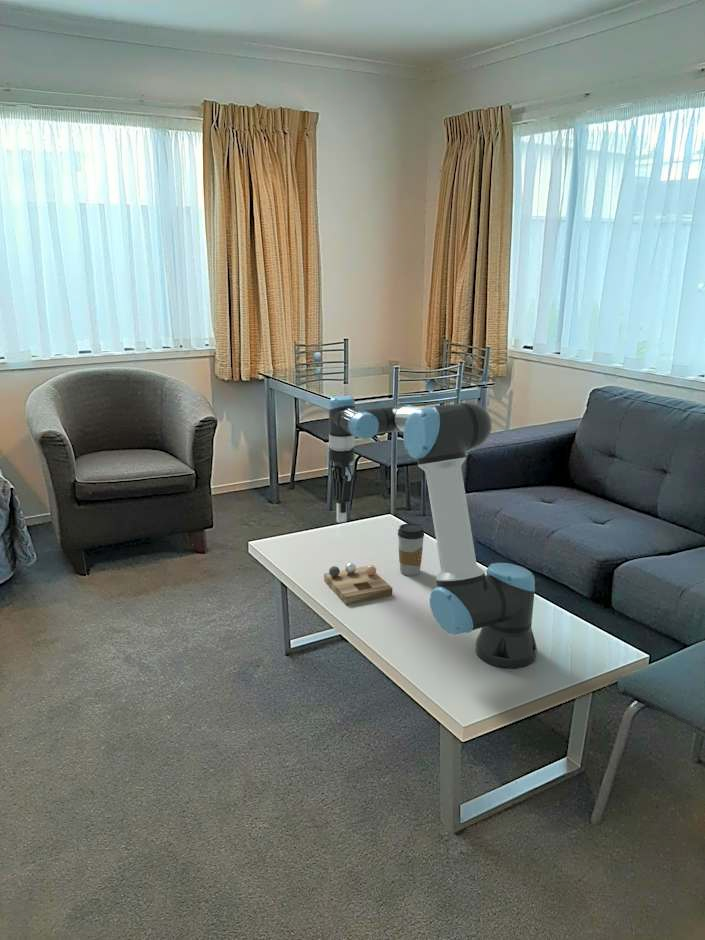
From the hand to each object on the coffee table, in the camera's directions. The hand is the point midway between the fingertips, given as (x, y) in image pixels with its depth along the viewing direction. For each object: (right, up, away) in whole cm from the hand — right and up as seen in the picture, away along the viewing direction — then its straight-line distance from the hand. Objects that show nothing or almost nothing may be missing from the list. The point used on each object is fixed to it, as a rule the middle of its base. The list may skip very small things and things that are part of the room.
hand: (341, 521), depth 231 cm
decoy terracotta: (+9, -15, -4) cm, 18 cm away
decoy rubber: (-2, -15, -5) cm, 16 cm away
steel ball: (+3, -14, -3) cm, 15 cm away
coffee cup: (+22, -17, +5) cm, 28 cm away
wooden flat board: (+5, -20, -6) cm, 21 cm away
